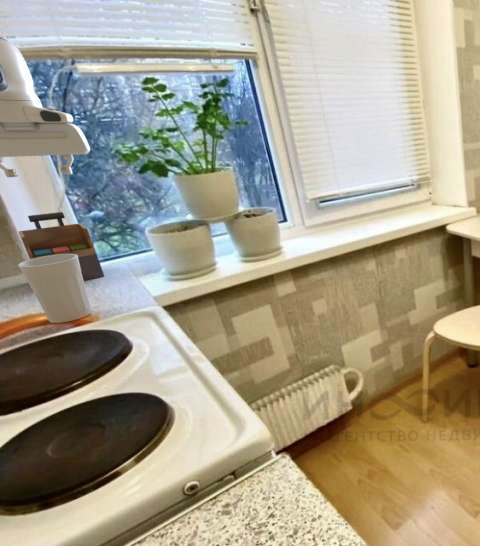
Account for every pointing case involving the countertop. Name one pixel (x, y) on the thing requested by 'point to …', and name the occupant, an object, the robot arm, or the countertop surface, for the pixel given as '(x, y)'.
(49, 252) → the packet left
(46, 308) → the cup
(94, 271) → the basket stand
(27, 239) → the basket
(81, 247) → the packet right
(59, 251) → the packet middle
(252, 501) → the countertop surface
